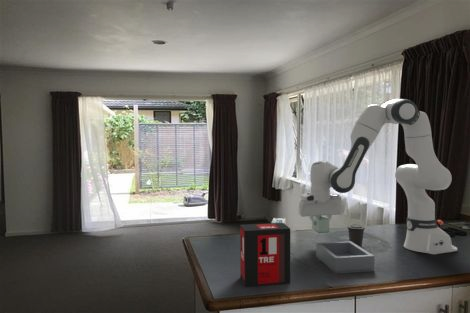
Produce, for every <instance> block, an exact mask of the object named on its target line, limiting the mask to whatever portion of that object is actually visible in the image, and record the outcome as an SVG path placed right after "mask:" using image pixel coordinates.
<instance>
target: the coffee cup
mask: <svg viewBox="0 0 470 313" xmlns="http://www.w3.org/2000/svg"><path fill="white" fill-rule="evenodd" d="M347 229H348V230H347V231H348V239H349V240H348V241H351V242H353V243H354V244H356V245H358V246H359V247H361V248H362V247H363V246H362V245H363V240H364V231H365V230H366V228H365V226H363V225H359V224H357V223H356V224H350V225H348V226H347Z"/></svg>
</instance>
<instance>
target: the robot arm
mask: <svg viewBox="0 0 470 313" xmlns="http://www.w3.org/2000/svg"><path fill="white" fill-rule="evenodd" d="M385 124H394V125H398V124H400V125H401V126H402V129H403V133H404V134H403V135H404V137H403V138H404V144H405V152H406V154H407V155H408V157H410V158H412V160H413V161H414V162H415V164H414V163H407V164H406V163H405V164H401V165H399V166H398V167H397V168H396V169H395V174H394V176H395V181H396V182H397V183H398V184H399V185H400V186H401V188H402V189H403V191H404V193H405V196H406V200H407V217H406V228H407V229H406V235H405V241H404V244H403V247H404V248H405V249H407V250H410V251H413V252H419V253H425V254H430V255H438V254H445V253H446V254H447V253H453V252H458V251H459V250H458V247H457V246H455V245H453V244H452V238H451V236H450V235H449V234H448V233H447V232H446V231H444V230H443V229H441V227H439V225H440V226H442V225H443V224H444V221H443V220H441V219H437V218H436V216H435V215H436V203H435V201H434V200H433V199H432V198H431V197H430V196H429V195H428V193H427V192H426V190H428V191H442V190H446V189H448V188H449V187H450V185H451V183H452V178H453V177H452V174H451V173H452V172H450V170H449V169H448V168H447V167H445V166H444V165H443V164H442V163H441V162H440V161H439V159H438V157H437V156H436V153H435V150H434V143H433V137H432V127H431V123H430V119H429V116H428V114H427V113H426V112H424V111H421V110H419V108H418V106H417V105H416V104H415V103H414V101H412V100H410V99H407V98H394V99H389V100H386V101H384V102H382V103H381V104H380V105H379V104H370V105H368V106H366V107H365V109H363V111H362V112H361V114H360V115H359V117H358V118H357V120H356V121H355V124H354V126H353V128H352V131H351V133H350V142H351V143H350V144H351V147H350V150H349V153H348V154H347V156H346V158H345V160H344V162H343V163H342V166H341V167H340V166H337V165H334V164H332V163H331V162H329V161H328V160H319V161H315V162H314V163H312V164H311V166H310V172H309V174H310V175H309V176H310V178H309V179H310V185H311V186H310V190H309V191H308V192H305V193H303V194H301V195H300V199H301V200H300V201H299V203H298V215H299V216H301V217H309V220H310V221H311V226H312V225H316V221H314V220H313V218H314V216H324V217H325V216H327V217H326V218H327V219H329V222H330V221H331V220H332V216H338V215H339V216H340V215H342V213H343V206H342V196H340V195H339V194H346V193H349V192H350V191H352V190H353V188H354V187H355V183H356V175H357V171H358V169H359V168H360V166H361V164H362V162H363V159H364V157H365V156H366V154H367V152H368V151H369V149H370V148H371V146H372V145H373V143H374V142H375V140H376V139H377V137H378V136H379V134H380V132H381V130H382V128H383V127H384V126H385ZM331 188H332V189H333V190H334V191H335V192H337V193H339V194H331Z"/></svg>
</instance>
